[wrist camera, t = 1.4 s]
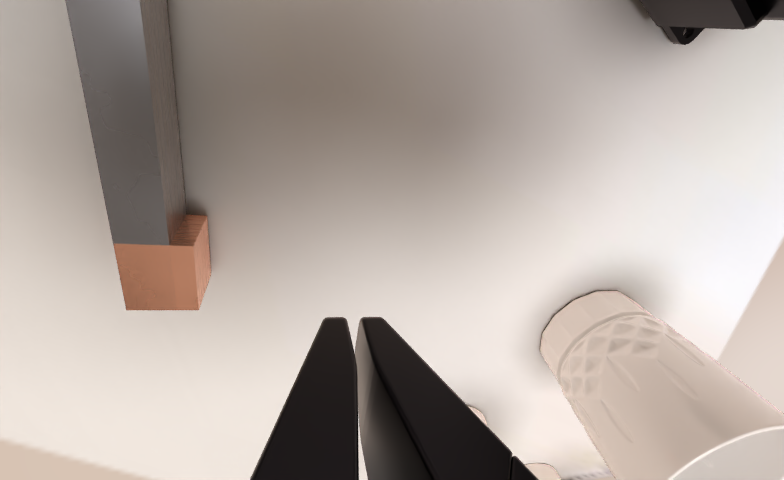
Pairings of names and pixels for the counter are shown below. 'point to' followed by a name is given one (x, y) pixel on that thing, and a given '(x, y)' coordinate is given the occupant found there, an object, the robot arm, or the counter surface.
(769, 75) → the counter surface
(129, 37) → the bar
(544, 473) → the beige tall box
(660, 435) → the white cup
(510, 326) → the counter surface
